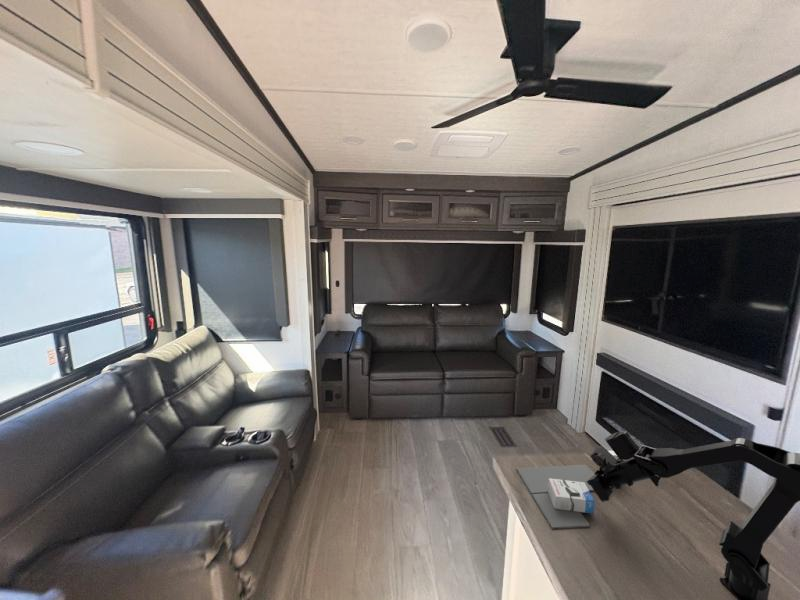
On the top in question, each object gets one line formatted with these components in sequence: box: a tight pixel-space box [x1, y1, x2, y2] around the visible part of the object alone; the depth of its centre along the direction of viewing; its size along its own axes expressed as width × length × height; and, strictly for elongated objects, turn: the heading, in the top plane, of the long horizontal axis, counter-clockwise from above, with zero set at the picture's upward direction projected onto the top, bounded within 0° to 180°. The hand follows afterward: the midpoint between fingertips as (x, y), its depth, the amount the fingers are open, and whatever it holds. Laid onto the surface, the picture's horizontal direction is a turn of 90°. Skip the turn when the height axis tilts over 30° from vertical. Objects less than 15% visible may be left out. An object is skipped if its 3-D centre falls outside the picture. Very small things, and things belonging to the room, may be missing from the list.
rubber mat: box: [516, 464, 595, 530], centre depth 107 cm, size 26×28×1 cm
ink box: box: [548, 478, 595, 514], centre depth 103 cm, size 8×5×12 cm
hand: (588, 482), depth 103 cm, fingers closed
